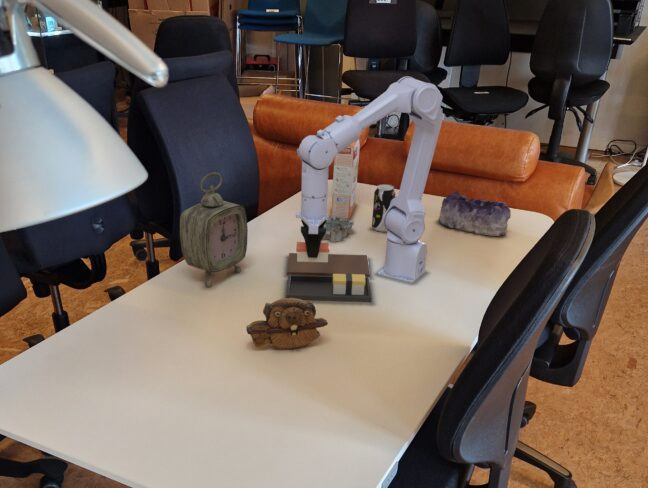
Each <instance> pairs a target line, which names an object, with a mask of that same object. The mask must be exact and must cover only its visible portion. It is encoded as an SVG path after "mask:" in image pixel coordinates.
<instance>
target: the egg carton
mask: <svg viewBox="0 0 648 488" xmlns="http://www.w3.org/2000/svg"><path fill="white" fill-rule="evenodd" d="M354 224H355V221H354V220H352V221H350V219H345V218H341V217H337V216H335V215H332V216H331V215H330V217H329V218H327V219H326V223H325V225H324V227H323V228H326V233H325V235H324V236H323V238H322V240H325V239H326V240H330V241H331V242H333V243H334V242H340V241H342V239H343V238H346V237H347V235H348V234H352V233H353V226H355V225H354Z"/></svg>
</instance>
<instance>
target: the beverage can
mask: <svg viewBox="0 0 648 488" xmlns="http://www.w3.org/2000/svg"><path fill="white" fill-rule="evenodd" d="M394 188H395V186H393V185H392V184H385V183H384V184H377V186H376V189H375V190H374V192H373V193H374V194H373V205H372V217H371V228H372V229H374V231H376V232H379V233H380V232H381V233H385V232H386V233H387V229H386V228H385V227H384V224H383V217H384V214H385V213H386V211H387V210H388V208H389V206H390V203H391V200H392V199H394V198H395V197H396V191H395V189H394Z"/></svg>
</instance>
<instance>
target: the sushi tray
mask: <svg viewBox="0 0 648 488" xmlns="http://www.w3.org/2000/svg"><path fill="white" fill-rule="evenodd" d="M365 281H366V283H365V285H364V295H345V294H333V276H314V275H287V283H286V292H285V293H286V294H285V298H295V299H301V300H304V301H306V302H308V301H312V302H339V303H346V302H347V303H372V290H371V283H370V278H369V277H365Z"/></svg>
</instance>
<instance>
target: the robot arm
mask: <svg viewBox="0 0 648 488" xmlns="http://www.w3.org/2000/svg"><path fill="white" fill-rule="evenodd" d="M443 98H444V97H443V95H442V93H441V92H440V90H439V89H438V87H437V85H435V84H433V83H431V82H425V81H422V80H419V79H416V78H414V77H413V76H411V75H410V76H408V75H407V76H402V77H401V78H400V79H398V80H397V81H395V82H393V83H391V84H390V85H389V86H388V88H387V89H386V91H384V92H383V93H382V94H380V95H379V96H377V98H374V100H372V101H371V102H370V103H369V104H367V105H366V106H365V107H363V108H362V109H361V110H359V111H358V112H357V113H355V114H354V115H353V116H351V115H348V114H345V115H344V114H343V116H342V115H338V116H336V117H335V119H334V120H335V121H334V122H332V123H330V124H329V125H327V126H326V127H325V128H323V129H319V130H317V132H316V135H315V134H310V135H307V136H305V137H304V138H303V139H302V140H301V142H300V144H299V147H298V148H297V149H296V153H297V156H298V158H299V159H300V161H301V187H300V188H301V190H300V191H301V192H300V193H301V194H300V195H301V197H300V204H301V205H300V211H296V213H295V218H296V219H300V221H301V223H302V225H301V226H300V233H301V235H302V237H303V240H304V242H305V243H306V250H307V255H308V258H317V257H318V253H319V249H320V244H321V242H322V241H323V239H322V238H323V236H324V235H325V233H326V228H323V227H324V225H325V223H326V220H327V219H329V218H328V217H329V216H328V215H329V214H328V193H329V192H328V191H329V167H330V166H331V165H332V163H333V162H334V157H335V155H337V154H338V153H339V152H341V151H342V150H344V149H345V148H347V147H348V146H349V145H351V144H352V143H354V142H355V141H357V140H358V139H359V138H360V139H361V137H360V135H361V133H362V131H364V130H365V129H367V128H369V127H370V126H372V125H374V124H376V123H377V122H379V121H381V120H382V119H383V118H385V117H387V116H389V115H390V114H392V113H402V114H403V113H405V114H407V115H408V116H409V117H410V120H411V121H412V122H413V124H414V129H413V130H414V131H413V134H412V138H411V143H410V146H409V151H408V155H407V158H406V163H405V167H404V170H403V174H402V178H401V181H400V182H401V183H400V186H399V191H398V194H397V196H395V198H394V199H392V200H391V203H390V206H389V208H388V210H387V211H386V213H385V214H384V217H383V224H384V227H385V228H386V229H387V231H386V245H385V256H384V267H383V268H382V269H380V270H378V271H377V275H380V276H385V277H388V278H391V279H392V278H393V279H396V280H400V281H404V282H407V283H414V282H416V280H418V279H420V278H421V276H422V275H424V274H425V273H426V261H427V254H428V246H427V244H426V243H424V242H422V241H420V239H421V238H422V237H423V235H424V233H425V230H426V225H425V217H426V210H425V207H424V205H423V202H422V199H423V196H424V191H425V188H426V185H427V181H428V177H429V173H430V170H431V165H432V161H433V158H434V155H435V151H436V147H437V143H438V140H439V136H440V133H441V129H442V124H443V115H442V108H441V105H442V101H443Z"/></svg>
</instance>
